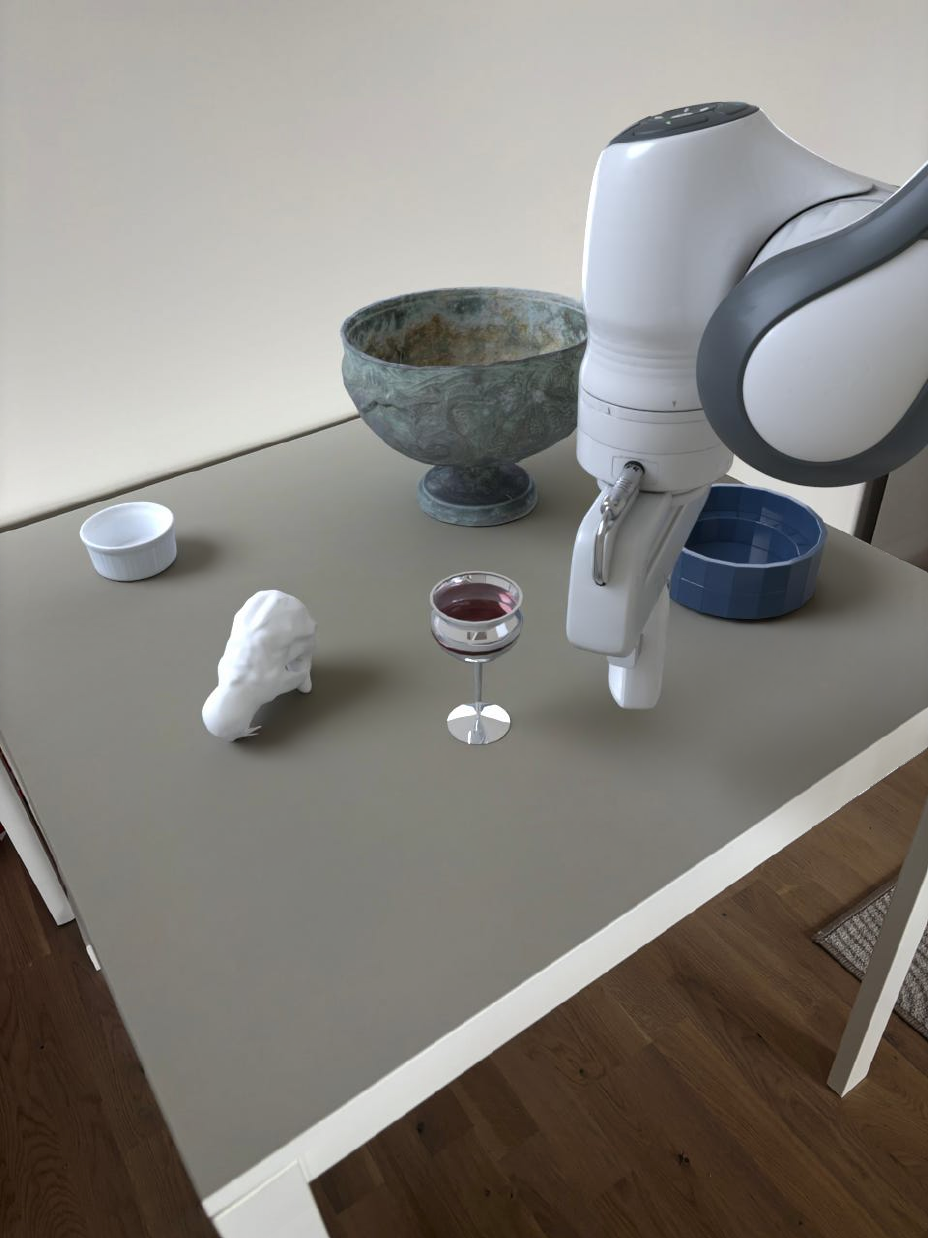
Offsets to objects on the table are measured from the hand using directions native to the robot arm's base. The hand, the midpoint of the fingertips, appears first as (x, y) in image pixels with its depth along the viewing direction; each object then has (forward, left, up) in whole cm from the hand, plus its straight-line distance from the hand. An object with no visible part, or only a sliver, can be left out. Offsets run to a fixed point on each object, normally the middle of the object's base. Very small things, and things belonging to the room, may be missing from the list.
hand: (639, 629), depth 62 cm
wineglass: (+12, -2, -14) cm, 19 cm away
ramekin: (+53, -11, -14) cm, 56 cm away
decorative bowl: (+27, -36, -14) cm, 47 cm away
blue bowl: (-2, -30, -14) cm, 33 cm away
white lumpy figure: (+29, +3, -14) cm, 33 cm away
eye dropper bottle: (0, 0, -5) cm, 5 cm away
